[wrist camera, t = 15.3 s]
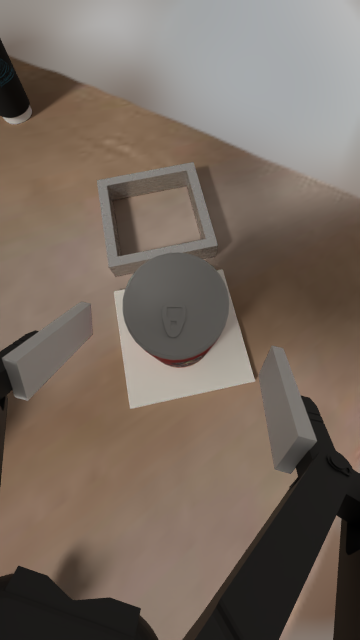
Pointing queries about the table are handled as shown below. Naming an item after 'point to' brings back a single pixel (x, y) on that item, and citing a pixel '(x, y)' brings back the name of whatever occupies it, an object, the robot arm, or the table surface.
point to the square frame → (144, 185)
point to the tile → (170, 382)
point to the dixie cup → (12, 92)
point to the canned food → (176, 308)
